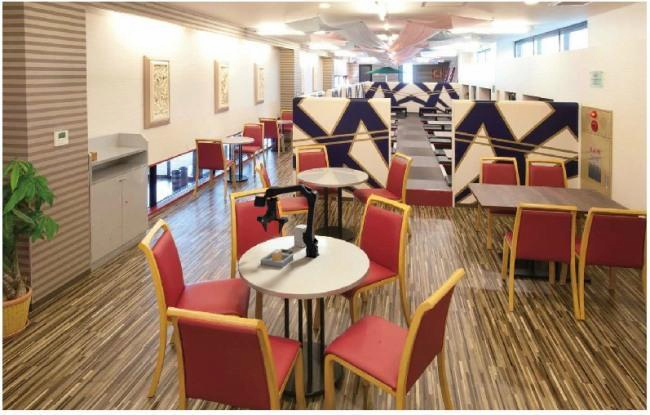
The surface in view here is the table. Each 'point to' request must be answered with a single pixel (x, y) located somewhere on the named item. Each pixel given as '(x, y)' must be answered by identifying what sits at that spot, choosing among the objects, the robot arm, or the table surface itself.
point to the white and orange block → (277, 255)
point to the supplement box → (299, 235)
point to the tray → (269, 262)
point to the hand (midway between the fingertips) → (272, 232)
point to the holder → (286, 251)
